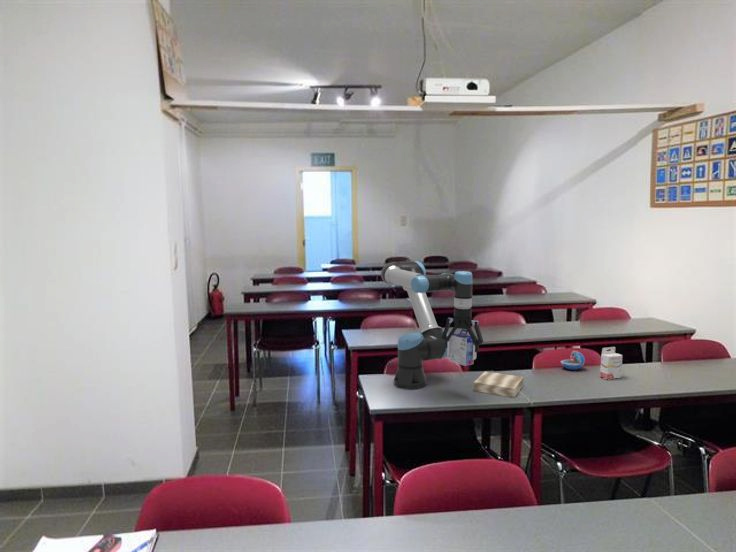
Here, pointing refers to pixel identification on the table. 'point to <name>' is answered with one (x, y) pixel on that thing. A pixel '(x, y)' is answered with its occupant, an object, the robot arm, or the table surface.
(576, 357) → the cell model
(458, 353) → the ink cartridge box
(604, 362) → the ink cartridge box
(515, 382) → the birch base
